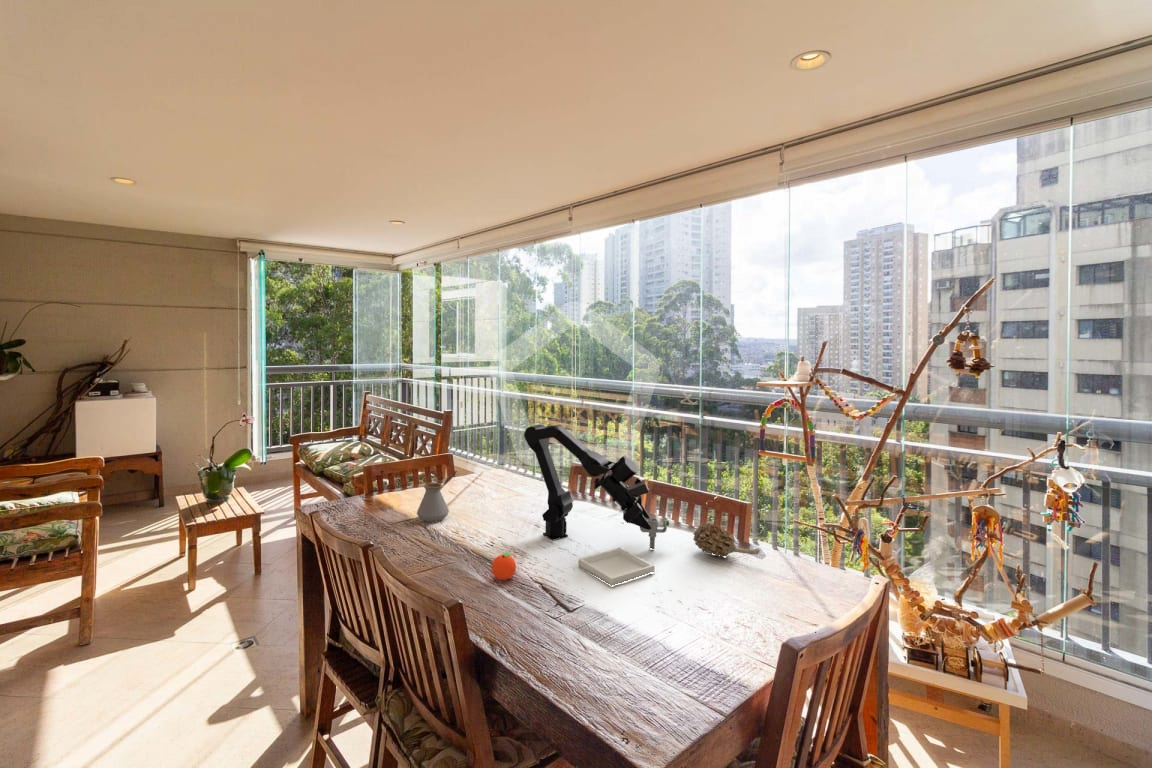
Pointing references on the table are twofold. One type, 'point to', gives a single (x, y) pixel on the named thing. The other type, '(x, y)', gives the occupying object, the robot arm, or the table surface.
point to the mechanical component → (654, 529)
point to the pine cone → (717, 540)
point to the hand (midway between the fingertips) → (649, 524)
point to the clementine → (503, 567)
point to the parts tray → (615, 566)
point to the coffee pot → (433, 502)
